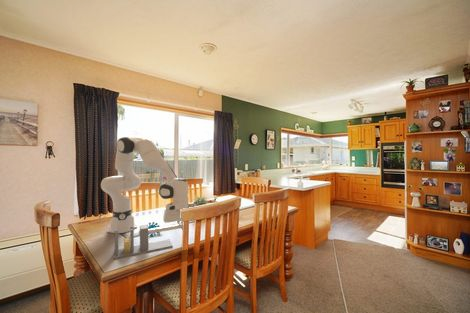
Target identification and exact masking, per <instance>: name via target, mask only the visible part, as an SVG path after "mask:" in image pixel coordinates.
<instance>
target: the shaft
mask: <svg viewBox="0 0 470 313" xmlns="http://www.w3.org/2000/svg"><path fill="white" fill-rule="evenodd" d="M179 224H182V222H181V221H180V223H179ZM179 224H178V223H177V224H172V225H171V224H170V225H166V226H161V227H160V226H159V227H156V228H152V229H148V234H149V235H150V234H151V233H153V234H154V233H155V234H157V232H159V233H160V232H161V233H162V232H167V231H173V230H178V229H180V230H182V231H183V228H179ZM138 236H140V230H139V231H138Z"/></svg>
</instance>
